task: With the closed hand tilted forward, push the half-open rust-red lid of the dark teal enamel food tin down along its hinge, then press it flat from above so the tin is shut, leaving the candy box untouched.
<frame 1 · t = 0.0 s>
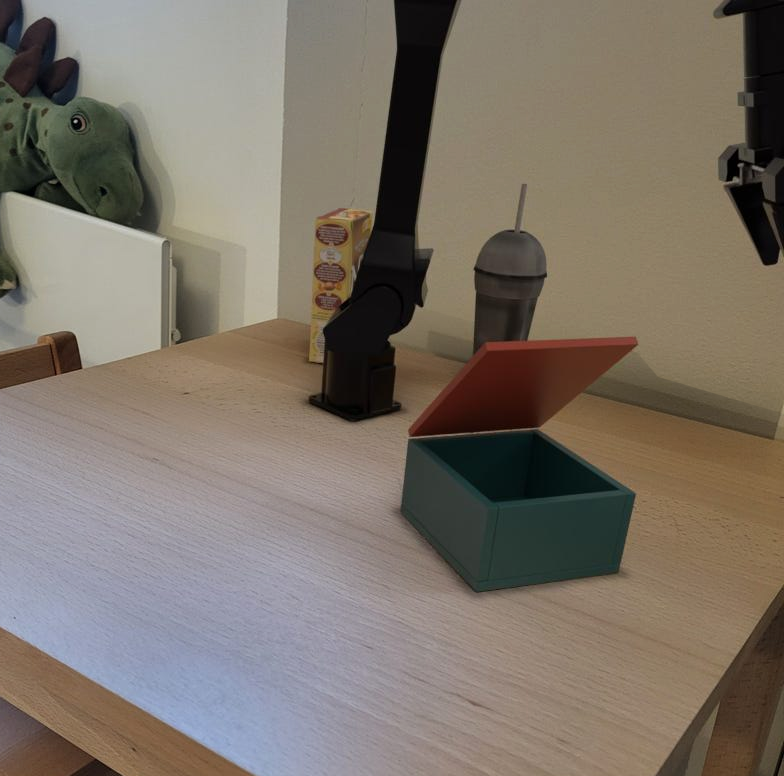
lid: (515, 389, 59), point 10 cm above the table, hinge at 45.0°
beverage cup: (493, 384, 96), on the table
tin: (503, 541, 62), on the table
candy box: (335, 356, 102), on the table
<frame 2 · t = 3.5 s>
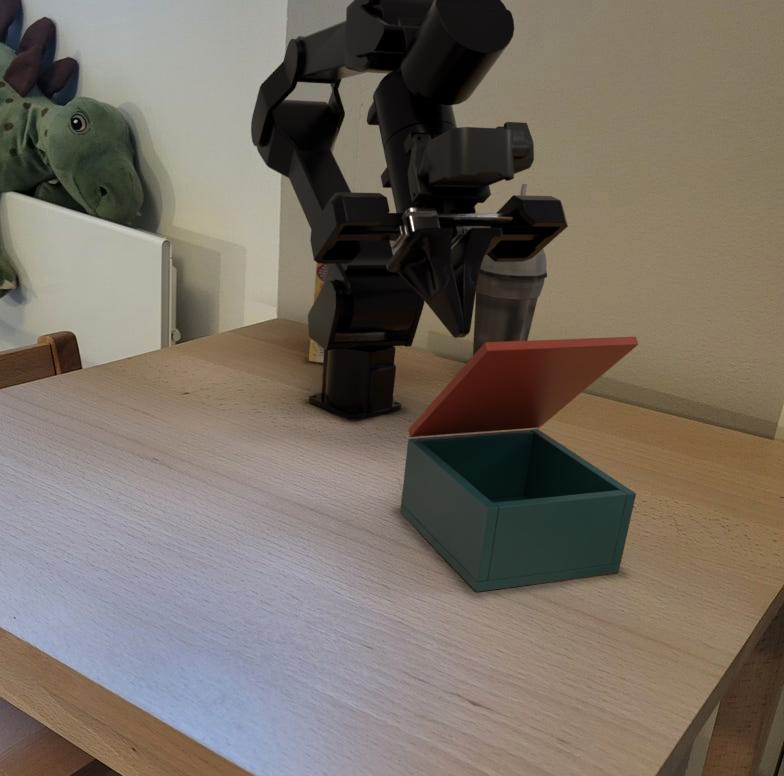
hand: (462, 335, 66), 12 cm above the table, tool tilted 40°, fingers closed
candy box: (335, 357, 102), on the table, touching arm
everything else where it was.
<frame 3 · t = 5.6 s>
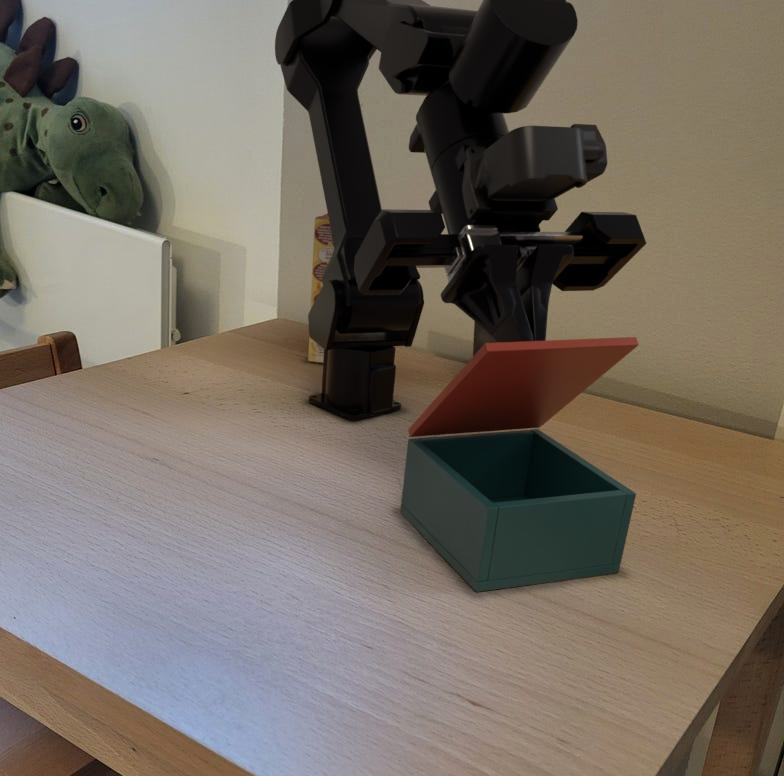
hand: (534, 367, 57), 12 cm above the table, tool tilted 45°, fingers closed, pressing on lid
lid: (515, 390, 59), point 10 cm above the table, hinge at 44.8°, touching gripper
candy box: (335, 356, 102), on the table
everything else where it was.
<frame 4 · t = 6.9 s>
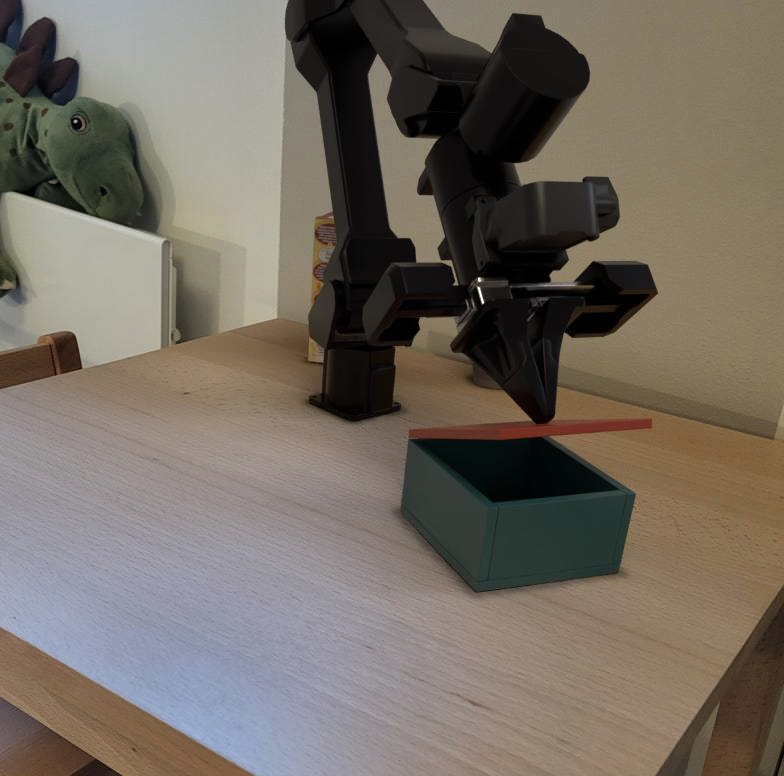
hand: (545, 421, 56), 10 cm above the table, tool tilted 45°, fingers closed
lid: (521, 428, 59), point 8 cm above the table, hinge at 20.6°
everything else where it was.
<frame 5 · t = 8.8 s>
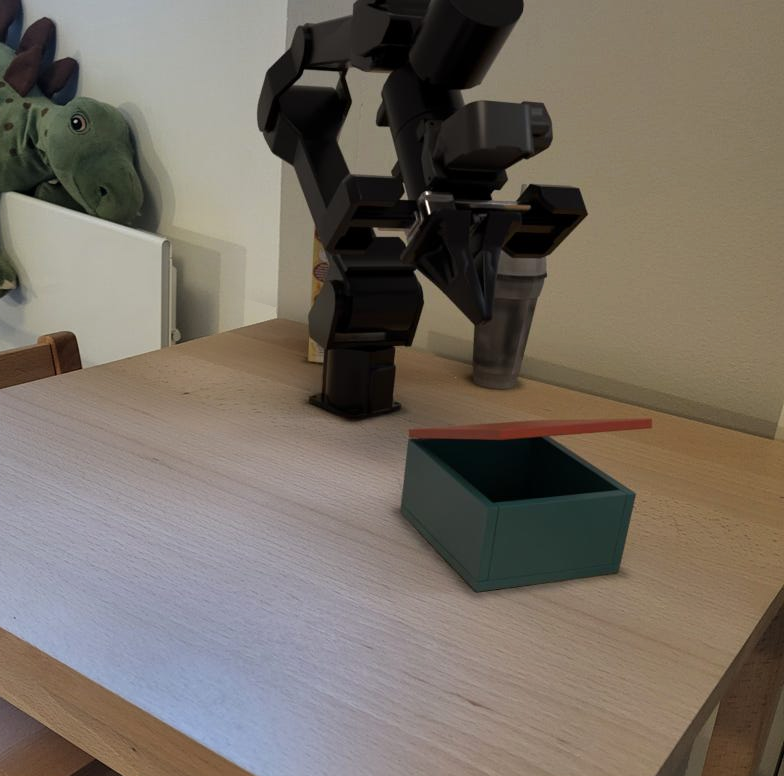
hand: (484, 323, 63), 13 cm above the table, tool tilted 45°, fingers closed
nothing on the table moved.
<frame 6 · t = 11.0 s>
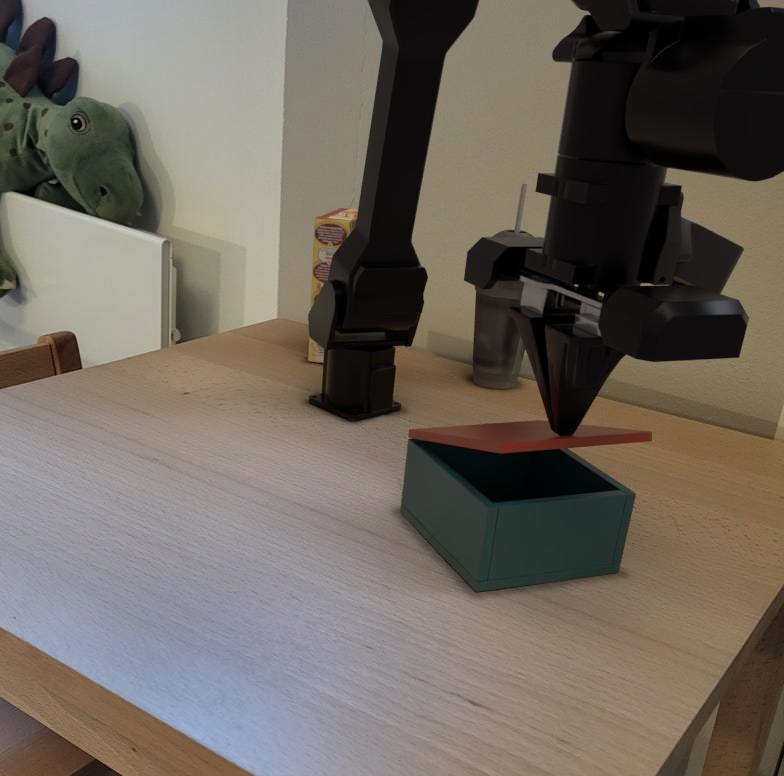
hand: (562, 433, 55), 9 cm above the table, tool pointing down, fingers closed
lid: (521, 434, 59), point 8 cm above the table, hinge at 16.8°, touching gripper
everything else where it was.
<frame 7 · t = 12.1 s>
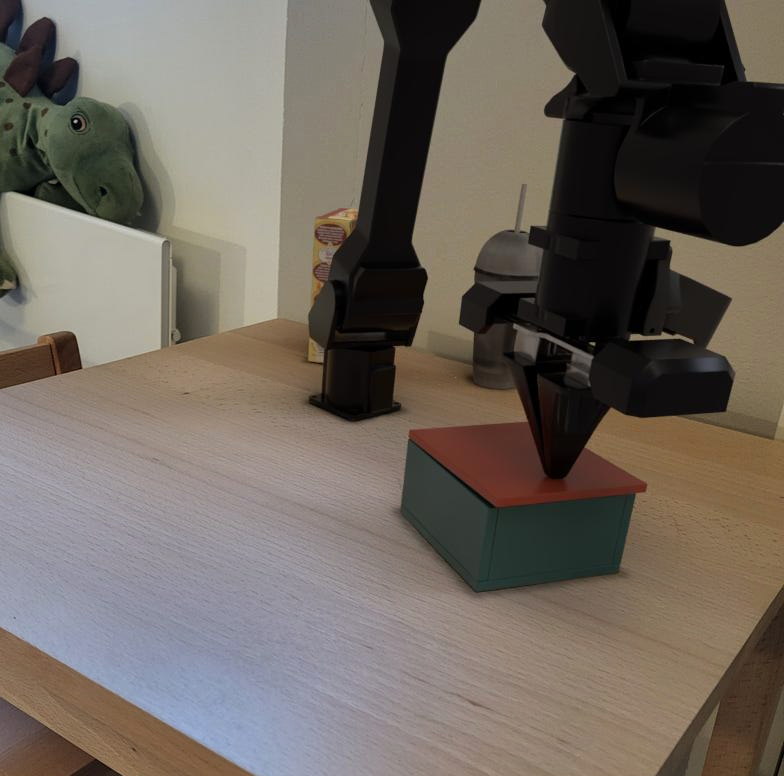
hand: (555, 476, 56), 7 cm above the table, tool pointing down, fingers closed
lid: (520, 459, 60), point 6 cm above the table, hinge at 1.7°
everything else where it was.
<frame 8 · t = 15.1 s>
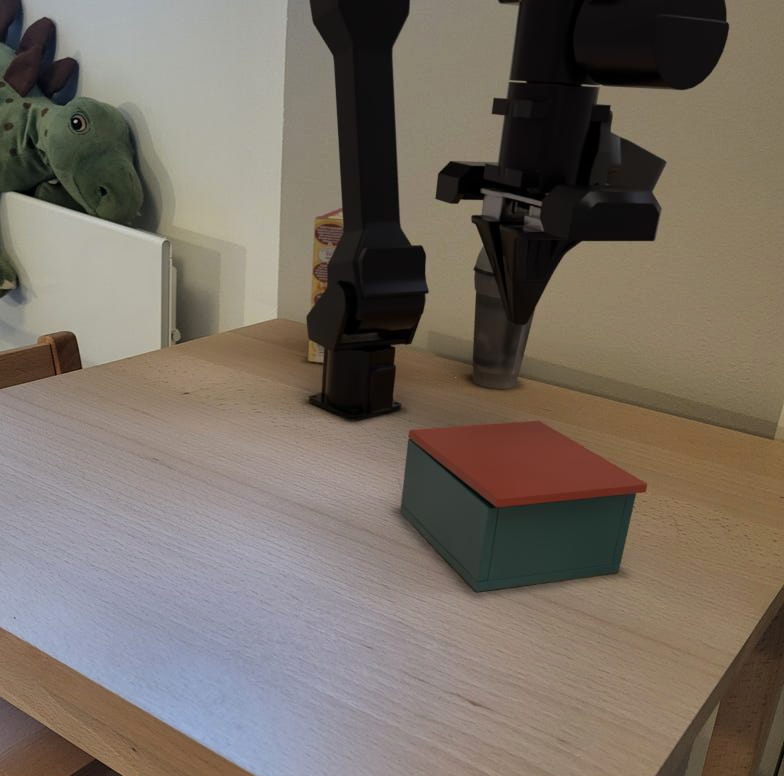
hand: (517, 323, 65), 13 cm above the table, tool pointing down, fingers closed
nothing on the table moved.
at the end: lid at +2° (first picture: +45°); candy box tilted 0°; candy box moved 0.2 cm from its start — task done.
